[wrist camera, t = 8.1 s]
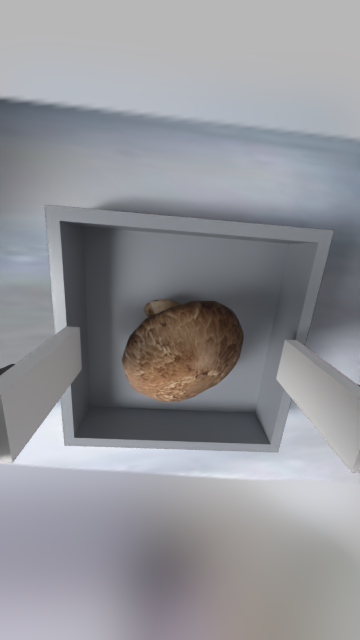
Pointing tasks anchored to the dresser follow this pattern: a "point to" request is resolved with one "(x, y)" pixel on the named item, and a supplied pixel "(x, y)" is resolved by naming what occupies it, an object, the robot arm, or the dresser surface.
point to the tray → (181, 286)
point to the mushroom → (182, 349)
